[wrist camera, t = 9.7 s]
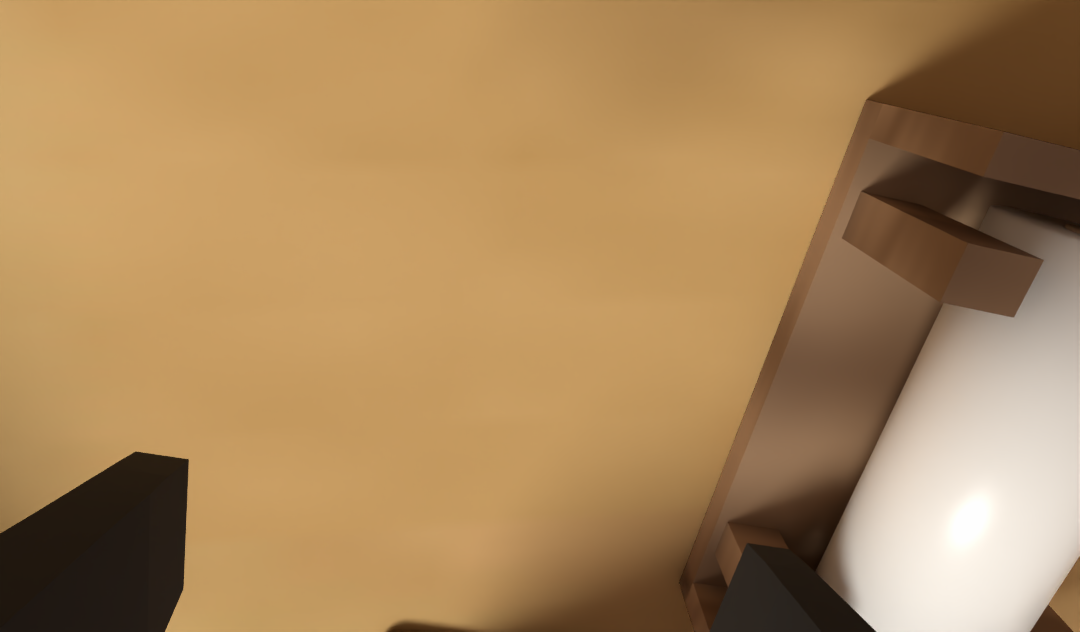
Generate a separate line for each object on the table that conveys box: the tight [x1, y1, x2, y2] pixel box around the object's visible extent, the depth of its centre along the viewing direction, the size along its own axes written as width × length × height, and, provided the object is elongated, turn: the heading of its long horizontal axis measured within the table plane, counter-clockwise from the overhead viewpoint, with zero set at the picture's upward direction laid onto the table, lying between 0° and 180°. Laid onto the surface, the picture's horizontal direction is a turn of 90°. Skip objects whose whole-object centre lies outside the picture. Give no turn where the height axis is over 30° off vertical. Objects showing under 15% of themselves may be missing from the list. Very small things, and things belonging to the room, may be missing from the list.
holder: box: [679, 100, 1080, 632], centre depth 18 cm, size 15×10×5 cm, turn 167°
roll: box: [815, 205, 1080, 632], centre depth 17 cm, size 12×5×5 cm, turn 167°
